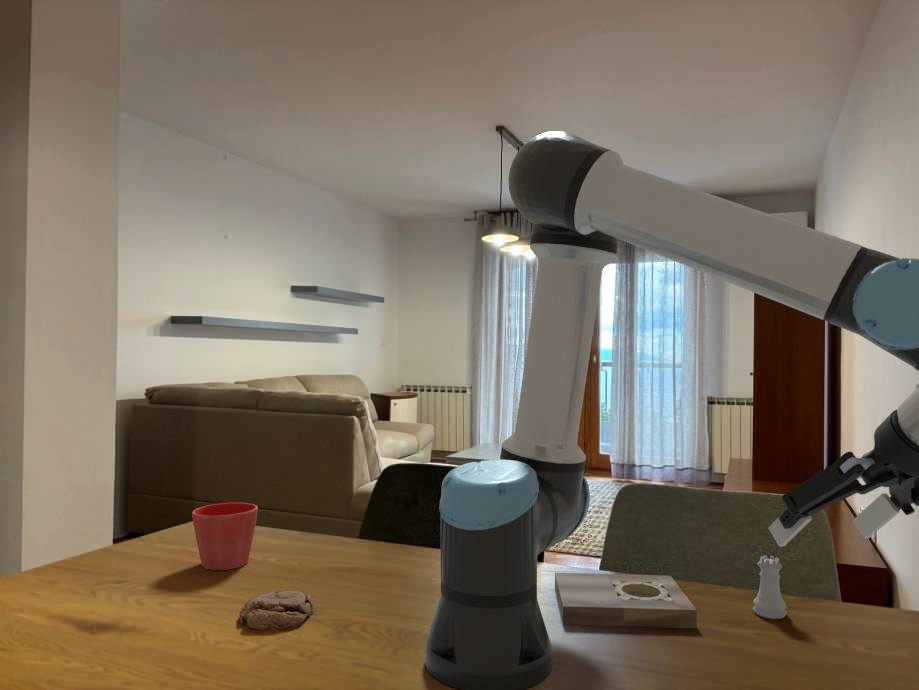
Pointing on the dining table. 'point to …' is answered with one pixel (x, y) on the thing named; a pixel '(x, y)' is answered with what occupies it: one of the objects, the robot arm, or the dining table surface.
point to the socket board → (623, 601)
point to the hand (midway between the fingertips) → (818, 533)
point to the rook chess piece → (769, 590)
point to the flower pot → (224, 534)
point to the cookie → (276, 610)
